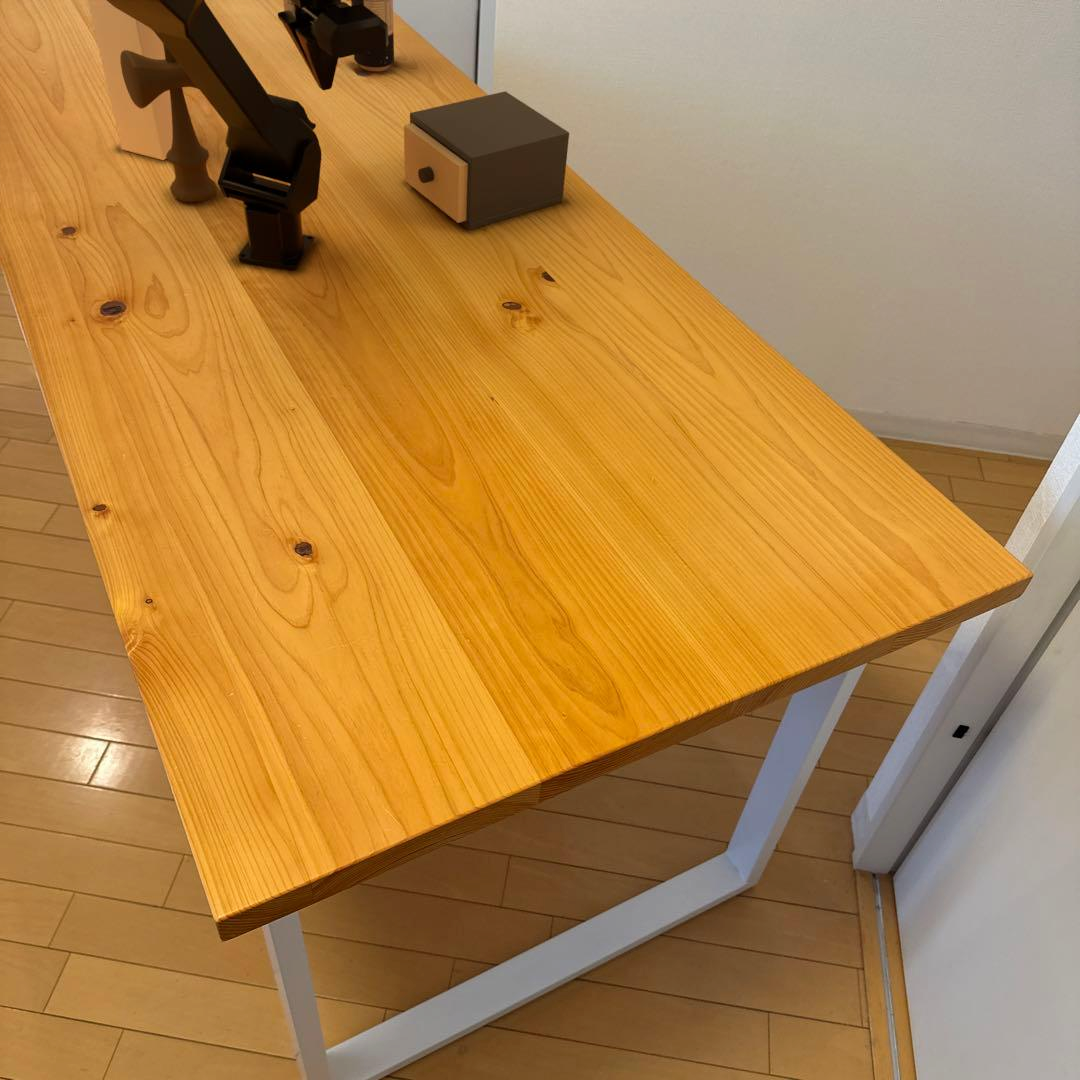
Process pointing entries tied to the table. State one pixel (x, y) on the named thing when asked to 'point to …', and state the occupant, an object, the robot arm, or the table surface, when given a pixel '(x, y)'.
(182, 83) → the kendama
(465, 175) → the drawer
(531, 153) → the cabinet
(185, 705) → the table surface
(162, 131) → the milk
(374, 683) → the table surface
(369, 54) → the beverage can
